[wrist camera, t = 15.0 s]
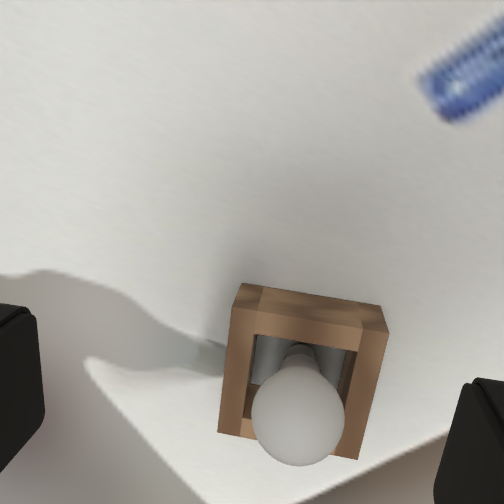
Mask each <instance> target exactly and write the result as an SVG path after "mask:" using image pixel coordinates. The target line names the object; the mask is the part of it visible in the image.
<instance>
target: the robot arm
mask: <svg viewBox="0 0 504 504" xmlns="http://www.w3.org/2000/svg"><path fill="white" fill-rule="evenodd" d="M37 332H38V331H37V321H36V318H35V316H34V315H32V314H31V312H30V311H29V309H28V308H26V307H22V306H16V305H9V304H1V303H0V472H2V470H3V469H4V468H5V467H6V466H7V465H8V463H9V462H10V461H11V460H12V459H13V458H14V456H15V455H16V454H17V453H18V452H19V451H20V449H21V448H22V447H23V446H24V445H25V444H26V443H27V441H28V440H29V439H30V438H31V437H32V436H33V434H34V433H35V432H36V431H37V430H38V429H39V427H40V426H41V424H42V422H43V419H44V415H45V405H44V395H43V384H42V374H41V364H40V352H39V342H38V333H37ZM433 496H434V503H435V504H504V381H498V380H491V379H485V378H478V377H477V378H475V379H474V381H473V382H472V384H470V383H465V384H464V385H463V388H462V390H461V394H460V397H459V400H458V404H457V407H456V411H455V414H454V417H453V421H452V424H451V428H450V431H449V434H448V438H447V442H446V445H445V448H444V451H443V455H442V458H441V462H440V465H439V469H438V472H437V475H436V479H435V482H434V490H433Z"/></svg>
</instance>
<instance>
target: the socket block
mask: <svg viewBox="0 0 504 504" xmlns="http://www.w3.org/2000/svg"><path fill="white" fill-rule="evenodd" d="M257 334H260V335H265V336H271V337H277V338H282V339H288V340H294V341H300V342H305V343H311V344H317V345H322V346H328V347H334V348H339V349H345V350H346V355H345V359H344V364H343V368H342V373H341V378H340V382H339V387H338V391H337V393H338V395H339V397H340V399H341V401H342V403H343V408H344V415H345V421H344V429H343V432H342V436H341V438H340V441H339V442H338V444H337V446H336V448H335V449H334V450H333V451H332V452H331V453H330V455H335V456H340V457H345V458H350V459H355V460H358V456H359V452H360V448H361V444H362V440H363V436H364V432H365V428H366V424H367V420H368V416H369V412H370V408H371V404H372V401H373V397H374V393H375V389H376V385H377V381H378V377H379V373H380V369H381V365H382V361H383V357H384V353H385V349H386V345H387V341H388V337H389V331H388V328H387V325H386V322H385V319H384V316H383V313H382V310H381V307H380V306H378V305H372V304H366V303H360V302H354V301H348V300H342V299H336V298H330V297H323V296H317V295H311V294H305V293H299V292H293V291H287V290H281V289H275V288H269V287H263V286H257V285H251V284H245V283H242V284H241V286H240V289H239V291H238V294H237V296H236V298H235V301H234V303H233V306H232V311H231V320H230V328H229V337H228V345H227V354H226V362H225V371H224V379H223V387H222V396H221V404H220V413H219V421H218V430H217V432H218V433H223V434H228V435H233V436H238V437H244V438H249V439H254V440H257V438H256V436H255V433H254V429H253V426H252V416H251V410H252V405H253V400H254V397H255V395H256V393H257V391H258V389H259V388H260V385H255V384H250V382H251V375H252V368H253V361H254V353H255V346H256V339H257Z"/></svg>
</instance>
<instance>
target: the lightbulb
mask: <svg viewBox="0 0 504 504" xmlns="http://www.w3.org/2000/svg"><path fill="white" fill-rule="evenodd" d="M251 416H252V426H253V429H254V433H255V436H256V438H257V440H258V442H259V443H260V445H261V446H262V447H263V448H264V450H265V451H266V452H267V453H268V454H269V455H270V456H272V457H273V458H275V459H276V460H278V461H280V462H282V463H284V464H287V465H291V466H307V465H311V464H315V463H317V462H319V461H321V460H323V459H324V458H326V457H327V456H328V455H329V454H330V453H331V452H332V451H333V450H334V449H335V448H336V446H337V444H338V442H339V441H340V438H341V436H342V432H343V429H344V421H345V415H344V408H343V403H342V401H341V399H340V397H339V395H338V393H337V391H336V389H335V388H334V386H333V385H332V384H331V383H330V382H329V381H328V380H327V379H326V378H324V377H323V376H322V375H321V373H320V368H319V366H318V364H317V359H316V355H315V352H314V351H313V349H311V348H310V347H309V346H307V345H303V344H296V345H293V346H291V347H290V348H289V349H288V350H287V352H286V355H285V358H284V361H283V362H282V364H281V366H280V369H279V371H278V372H276V373H275V374H273V375H271V376H270V377H269V378H268V379H266V380H265V381H264V382H263V384H262V385H261V386H260V388H259V389H258V391H257V393H256V395H255V397H254V400H253V405H252V410H251Z"/></svg>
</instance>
